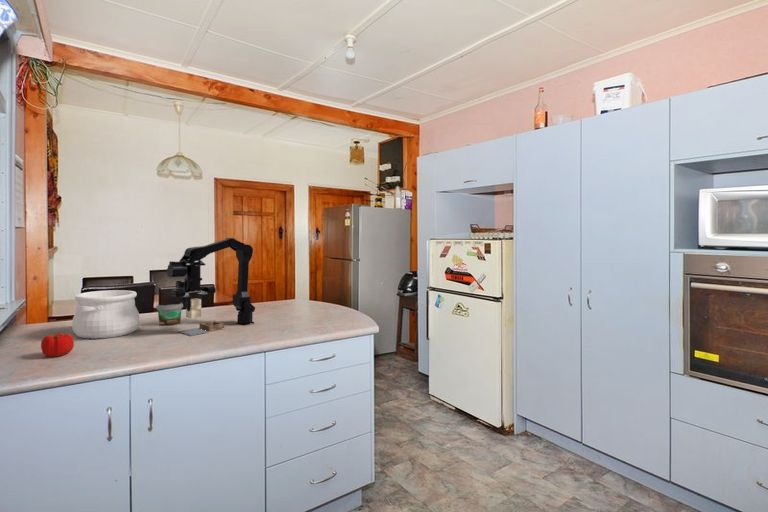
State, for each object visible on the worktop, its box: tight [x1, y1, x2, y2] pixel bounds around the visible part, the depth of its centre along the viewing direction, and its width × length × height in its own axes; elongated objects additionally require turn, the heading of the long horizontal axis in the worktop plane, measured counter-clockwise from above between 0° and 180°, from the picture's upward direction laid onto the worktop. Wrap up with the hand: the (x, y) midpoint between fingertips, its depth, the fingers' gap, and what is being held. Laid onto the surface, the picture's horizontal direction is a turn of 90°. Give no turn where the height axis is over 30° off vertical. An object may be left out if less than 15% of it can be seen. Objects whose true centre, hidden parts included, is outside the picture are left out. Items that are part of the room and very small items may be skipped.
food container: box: [155, 301, 184, 327], centre depth 195 cm, size 12×6×10 cm, turn 143°
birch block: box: [185, 297, 202, 319], centre depth 180 cm, size 4×4×8 cm
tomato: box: [40, 332, 75, 358], centre depth 145 cm, size 9×9×8 cm
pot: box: [71, 289, 141, 340], centre depth 176 cm, size 26×24×18 cm
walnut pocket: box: [198, 320, 225, 332], centre depth 188 cm, size 8×8×2 cm
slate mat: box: [178, 327, 209, 337], centre depth 181 cm, size 8×10×1 cm
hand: (193, 310), depth 181 cm, fingers closed on birch block, 4 cm apart
